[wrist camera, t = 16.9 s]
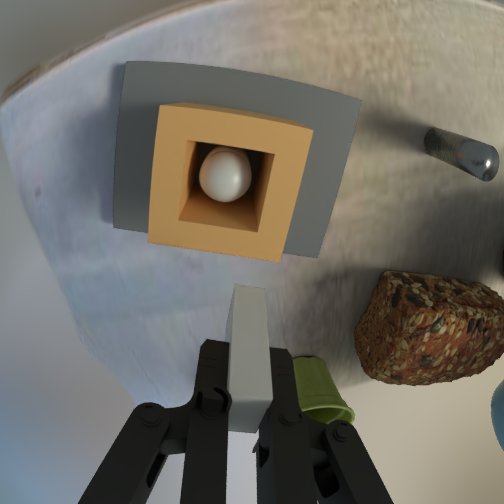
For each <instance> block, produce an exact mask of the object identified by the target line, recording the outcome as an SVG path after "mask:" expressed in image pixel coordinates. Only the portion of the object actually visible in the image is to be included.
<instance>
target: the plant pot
mask: <svg viewBox="0 0 504 504" xmlns="http://www.w3.org/2000/svg"><path fill="white" fill-rule="evenodd" d="M293 365H294V372H295V379H296V386H297V393H298V401H299V405H300V408H301V410H302V411H303V412H304V413H305V415H306V416H308V417H309V418H311V419H313V420H316V421H319V422H323V423H326V424H329V423H330V422H332V421H334V420H344V421H347V422H349V423H350V424H352V423H353V421H354V418H355V414H354V412H353V410H352V409H351V408H349V407H348V406H347V404H346V402H345V401H344V400H343V399H342V398H341V396H340V394H339V392H338V390H337V388H336V386H335V384H334V381H333V379H332V377H331V375H330V373H329V371H328V369H327V366H326V364H325V363H324V361H323V360H321V359H320V358H317V357H311V358H305V357H298V358H295V359H293Z"/></svg>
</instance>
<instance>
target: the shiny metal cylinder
mask: <svg viewBox="0 0 504 504" xmlns="http://www.w3.org/2000/svg"><path fill="white" fill-rule="evenodd" d="M425 148H426V151H427V152H428V154H429V155H431V156H433V157H435V158H437V159H440V160H442V161H444V162H446V163H448V164H450V165H453V166H455V167H457V168H459V169H461V170H463V171H465V172H467V173H469V174H471V175H473V176H475V177H477V178H479V179H481V180H482V181H490V180H492V179H493V178H494V177H495V175H496V174H497V171H498V168H499V155H498V152H497V150H496V149H495V148H494V147H493V146H490V145H488V144H485V143H482V142H479V141H477V140H474V139H471V138H468V137H465V136H462V135H459V134H455V133H452V132H449V131H446V130H442V129H439V128H433V129H431V130H429V131H428V133H427V134H426V137H425Z"/></svg>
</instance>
